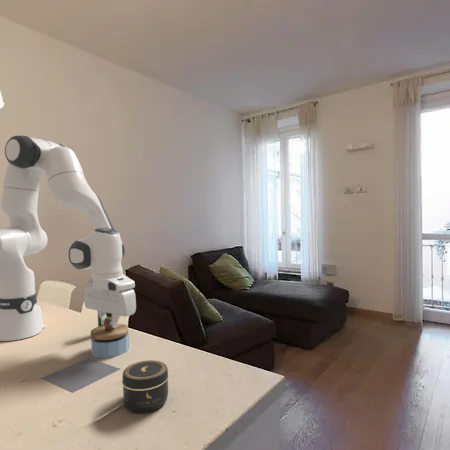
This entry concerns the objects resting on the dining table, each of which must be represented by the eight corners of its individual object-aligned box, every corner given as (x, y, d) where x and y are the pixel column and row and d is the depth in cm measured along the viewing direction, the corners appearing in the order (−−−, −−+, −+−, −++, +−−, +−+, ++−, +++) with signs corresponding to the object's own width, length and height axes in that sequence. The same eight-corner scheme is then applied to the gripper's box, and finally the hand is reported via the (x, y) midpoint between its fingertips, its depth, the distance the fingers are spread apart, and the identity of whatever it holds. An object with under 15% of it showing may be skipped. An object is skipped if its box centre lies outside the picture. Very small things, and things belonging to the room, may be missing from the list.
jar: (126, 420, 70) (125, 383, 69) (120, 396, 79) (119, 364, 79) (173, 408, 74) (172, 373, 73) (163, 387, 83) (162, 356, 83)
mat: (40, 380, 87) (40, 377, 87) (88, 360, 99) (88, 357, 99) (72, 395, 80) (72, 392, 80) (120, 371, 91) (120, 368, 91)
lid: (82, 336, 103) (82, 320, 102) (112, 325, 112) (112, 311, 112) (106, 342, 97) (106, 326, 96) (136, 331, 106) (135, 316, 106)
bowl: (84, 355, 103) (83, 339, 103) (113, 343, 112) (113, 328, 112) (107, 363, 97) (106, 345, 97) (136, 350, 106) (135, 334, 106)
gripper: (78, 280, 107) (79, 323, 107) (121, 286, 95) (123, 335, 96) (95, 276, 112) (97, 318, 112) (138, 282, 101) (140, 328, 101)
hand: (109, 326), depth 104 cm, fingers closed on lid, 3 cm apart
